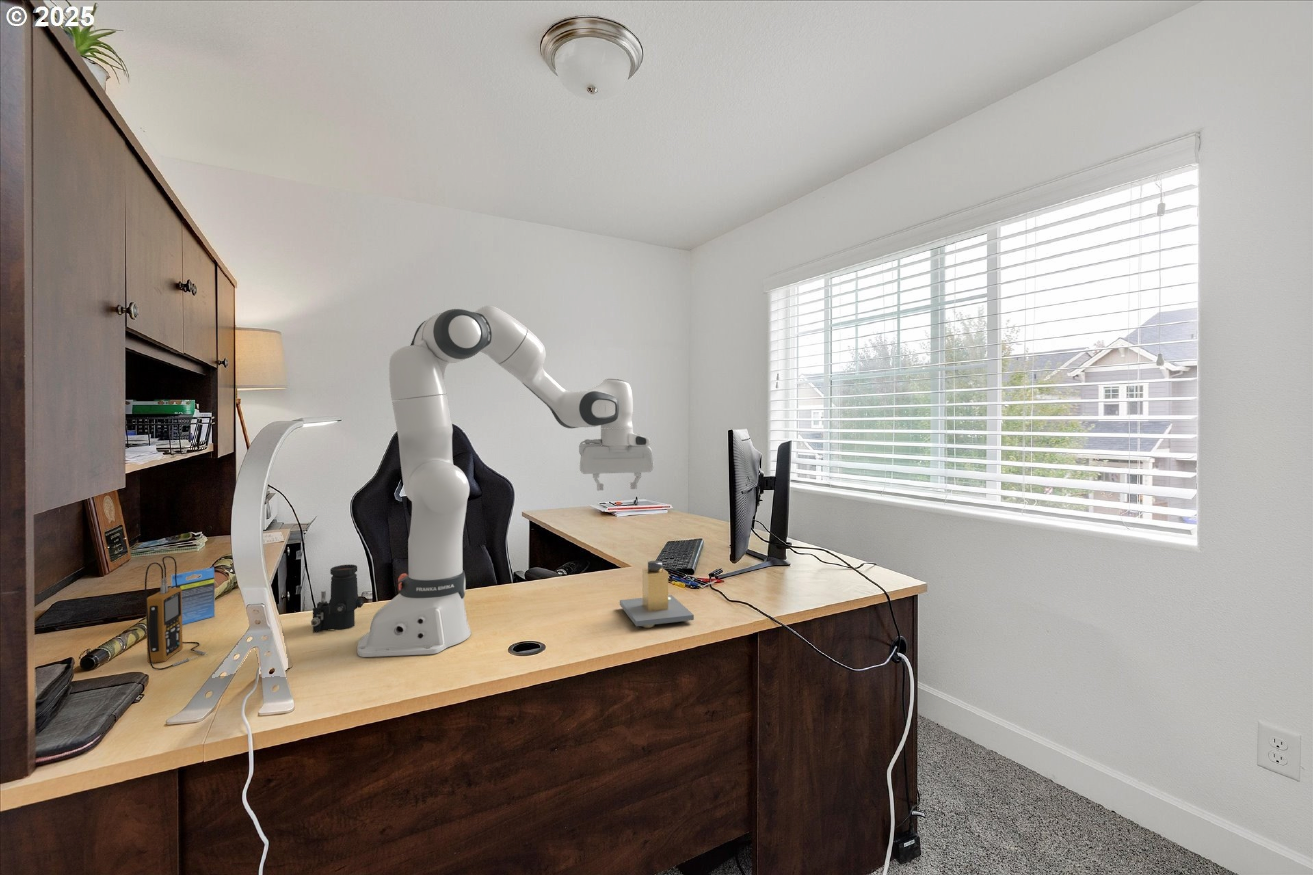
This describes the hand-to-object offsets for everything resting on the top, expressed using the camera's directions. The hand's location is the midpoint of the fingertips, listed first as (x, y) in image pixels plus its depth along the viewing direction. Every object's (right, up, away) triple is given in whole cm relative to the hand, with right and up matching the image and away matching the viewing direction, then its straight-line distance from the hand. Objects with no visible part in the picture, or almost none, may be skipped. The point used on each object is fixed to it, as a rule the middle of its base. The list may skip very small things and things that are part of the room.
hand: (617, 489), depth 152 cm
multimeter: (-85, -30, -39) cm, 98 cm away
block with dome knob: (+10, -27, -16) cm, 33 cm away
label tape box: (-101, -30, -19) cm, 107 cm away
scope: (-63, -30, -23) cm, 73 cm away
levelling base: (+10, -30, -16) cm, 35 cm away
